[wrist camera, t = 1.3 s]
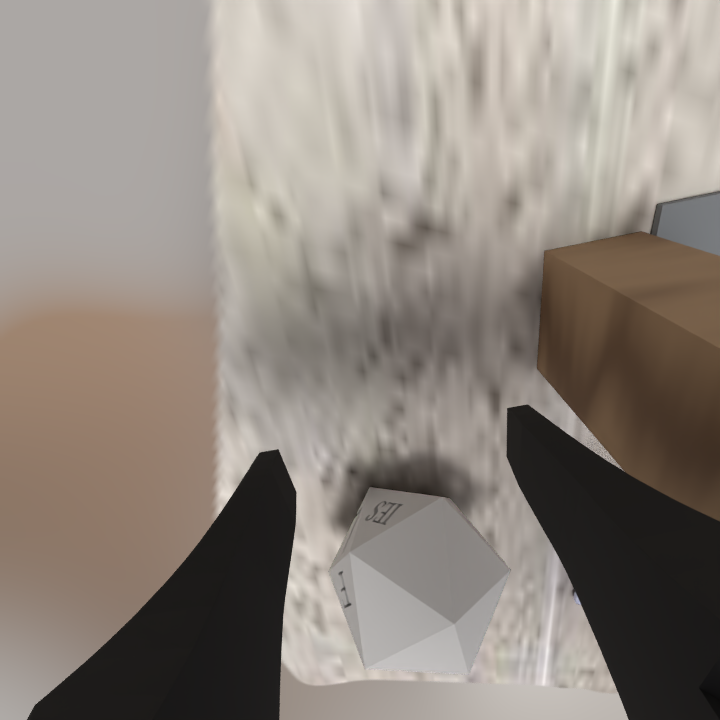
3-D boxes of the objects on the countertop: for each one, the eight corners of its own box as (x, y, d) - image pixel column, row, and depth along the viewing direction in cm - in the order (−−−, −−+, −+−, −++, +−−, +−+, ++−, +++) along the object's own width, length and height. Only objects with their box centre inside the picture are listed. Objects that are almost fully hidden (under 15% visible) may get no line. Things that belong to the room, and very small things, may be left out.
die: (416, 423, 21) (303, 590, 15) (558, 527, 20) (497, 763, 13) (373, 477, 28) (282, 610, 21) (477, 559, 26) (411, 728, 20)
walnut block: (617, 353, 19) (855, 538, 10) (536, 368, 19) (702, 562, 10) (641, 231, 16) (1011, 347, 7) (544, 250, 16) (788, 386, 7)
